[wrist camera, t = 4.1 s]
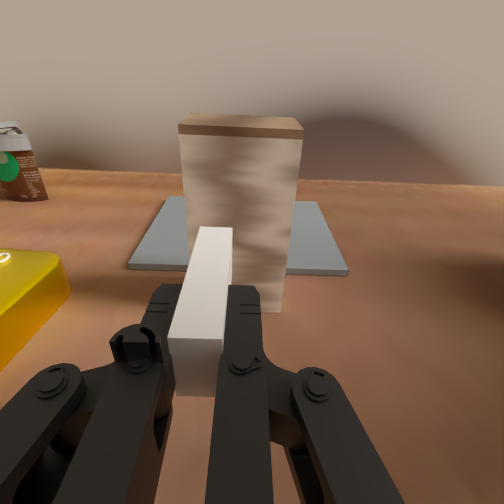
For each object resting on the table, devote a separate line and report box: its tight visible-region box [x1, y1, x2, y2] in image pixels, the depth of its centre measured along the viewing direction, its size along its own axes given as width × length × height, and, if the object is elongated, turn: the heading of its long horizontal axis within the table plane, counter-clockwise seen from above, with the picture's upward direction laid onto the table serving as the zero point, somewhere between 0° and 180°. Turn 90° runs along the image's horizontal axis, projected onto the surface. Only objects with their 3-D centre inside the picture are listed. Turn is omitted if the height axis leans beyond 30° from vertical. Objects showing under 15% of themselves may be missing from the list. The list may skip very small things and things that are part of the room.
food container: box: [0, 121, 49, 202], centre depth 45 cm, size 12×6×10 cm, turn 39°
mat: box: [128, 196, 349, 276], centre depth 40 cm, size 24×19×1 cm
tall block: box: [178, 113, 304, 313], centre depth 25 cm, size 8×5×16 cm, turn 90°
